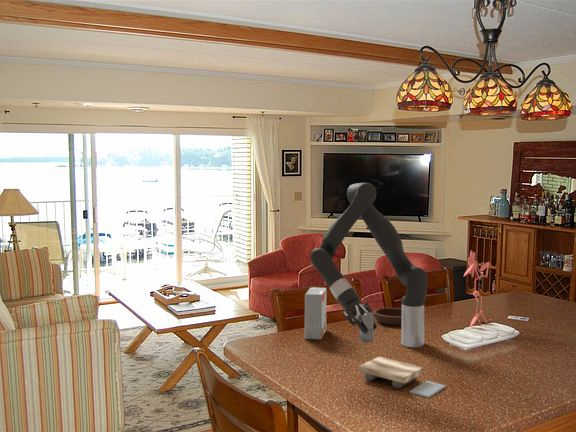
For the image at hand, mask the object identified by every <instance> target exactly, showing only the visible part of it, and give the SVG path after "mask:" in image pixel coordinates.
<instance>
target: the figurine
mask: <svg viewBox="0 0 576 432" xmlns="http://www.w3.org/2000/svg"><path fill="white" fill-rule="evenodd" d="M467 264H468V268H467V270H466V271H465V272H464V274H463V277H466V276H467V275H468V274H469V275H471V278H474V274H475V273H476V275H477V278H474V291H473V293H472V294H473V296H474V297H475V299H476V302H477V305H476V311H475V312H476V313H475V316H473V318H472V320H471V322H470V325H469V327H470V326H471V327H472V326H474V325H475V323H476V321H478V323H479V325H480V327H481V325H482V324H481V321H480V319H479V317H480V316H482V318H483V319H484V322H485V323H486V324H488V321H487V319H486V317H485V315H484V313H483V312H484V310H483V309H481V310H480V311H479V313H478V308H479V300H478V298H477V297H480V300H481V301H480V308H482V307H483V305H482V304H483V303H482V302H483V297H482V296H481V295H480V292H479V291H478V290H477V289H476V287H477V284H476V283H477V282H476V281H477V280H479V281H480V280H481V278H482V277H484V278H488V274H489V267H490V264H491V263H490V261H487V262H485V263H484V264H483V265H482V266H481V267H480V268H479V266H478V265H477V261H476V252H475V251H474V252H473V250H470V252H469V256H468V258H467ZM484 270H486V274H485V275H484V274H483V273H482V272H483V271H484ZM478 272H479V273H478ZM479 274H480V275H479ZM459 320H461V319H457V320H456V319H455V322H456V321H459ZM489 320H490V321H492V319H491V318H490V319H489ZM455 327H456V328H458V329H459V328H460V327H459V326H457V325H455Z"/></svg>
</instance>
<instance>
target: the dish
mask: <svg viewBox="0 0 576 432" xmlns="http://www.w3.org/2000/svg"><path fill="white" fill-rule="evenodd" d="M373 314H374V318H376V320H377V322H379V323H380V324H384V325H387V326H388V325H390V326H394V325H395V326H396V325H397V326H399V325H402V308H399V307H381V308H377V309H375V310H373Z"/></svg>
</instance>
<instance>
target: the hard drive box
mask: <svg viewBox="0 0 576 432" xmlns="http://www.w3.org/2000/svg"><path fill="white" fill-rule="evenodd" d="M326 331H327V287H316V286H315V287H314V286H313V287H309V289H308V290H307V292H306V293H305V294H304V339H306V340H319V341H320V340H322V339H323V337H324V335H325V333H326Z"/></svg>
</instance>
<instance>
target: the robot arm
mask: <svg viewBox="0 0 576 432" xmlns="http://www.w3.org/2000/svg"><path fill="white" fill-rule="evenodd" d="M346 197H347V199H348V202H349V203H350V204H349V206H348V207H347V209H345V210H344V212H343V213H342V214H341V215H340V216H339V217H337V218H336V219H335V220H334V221H333V223H332V224H331V225H330V227H329V228H328V229H327V231H326V232H325V234H324V236H323V237H322V240H321V244H320V246H319V247H316V248H313V249H312V250H311V252H310V254H309V260H310V263H311V265H312V267H313V268H314V269H315V270H317V271H318V273H319V274H320V275H321V277H322V279H323V282H324V283H325V284H326V286H327V287H328V289H329V290H330V292H331V295H333V297H334V298H335V299H336V301H337V302H338V304H339V305H340V307H341V308H342V309H344V311H343V312H342V316H343V317H345V319H346V320H347V321H348V322H349V323H350V324H351V325H352V326H356V327H358V328H359V330H360V329H361V331H362V332H363V333H364V334H365V333H367V332H368V331H369V330H368V328H367V327H366V326H365V324H364V323H363V322H362V320H361V317H360V313H362V312H371V313H373V314H374V311H373V310H372V309H371V307H370V305H369V303H368V302H365V303H362V302H361V301H360V296H359V295H358V293H357V292H356V290H355V289H354V288H353V286H352V285H351V283H350V282H349V281H348V280H347V279H346V277H345V276H344V275H343V273H342V272H341V271H340V269H338V267H337V266H336V264H335V263H334V261H333V258H334V256H335V254H336V252H337V250H338V248H339V247H340V245H341V244H342V243H343V241H344V239H345V238H346V236H347V234H348V233H350V230H351V229H352V228H353V226H355V224H356V222H357V221H358V220H359V219H360V218H361V219H362V220H363V222H364V224H365V225H366V227H367V228H368V230H369V233H371V235H372V237H373V238H374V240H375V241H376V244H378V246H379V247H380V250H382V252H383V253H384V255H385V256H386V259H388V261H389V262H390V264H391V266H392V268H393V270H394V272H395V273H396V276H397V278H398V280H399V281H400V283H401V284H402V285H403V286H404V287H406V292H405V295H404V296H403V295H402V297H401V309H402V324H401V333H400V334H401V336H400V337H401V340H400V341H401V345H402V346H404V347H408V348H421V347H424V345H425V301H426V298H427V289H428V275H427V272H426V271H425V269H423V268H421V267H419V266H416V265H414V264H413V262H411V261H410V260H409V258H408V256H407V255H406V253H405V251H404V247H403V241H402V238H401V236H400V235H399V233H398V231H397V230H396V228H395V226H394V225H393V223H392V222H391V221H390V220H389V219H388V218H386V217H385V215H383V214H382V213H381V212H379V211H378V210H377V208H376V207H375V206H374V204H373V203H374V201H375V200H376V198H377V189H376V187H375V185H374V184H372V183H370V182H356V183H353V184H350V185H349V186H348V188H347V190H346ZM376 329H378V325H377V324H376V323H375V321H374V331H375V330H376Z"/></svg>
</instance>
